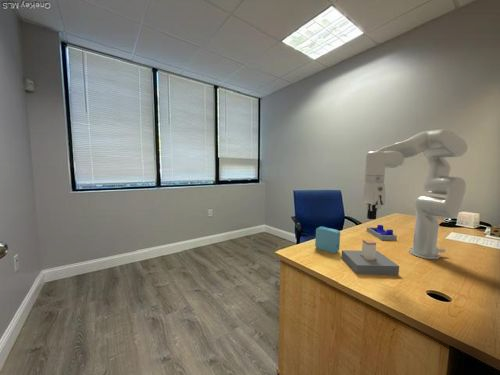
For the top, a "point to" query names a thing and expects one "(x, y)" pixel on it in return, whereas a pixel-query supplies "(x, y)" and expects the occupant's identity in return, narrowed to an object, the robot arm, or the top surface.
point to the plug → (368, 249)
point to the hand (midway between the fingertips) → (371, 218)
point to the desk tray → (379, 236)
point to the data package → (327, 239)
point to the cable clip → (381, 230)
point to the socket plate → (370, 263)
